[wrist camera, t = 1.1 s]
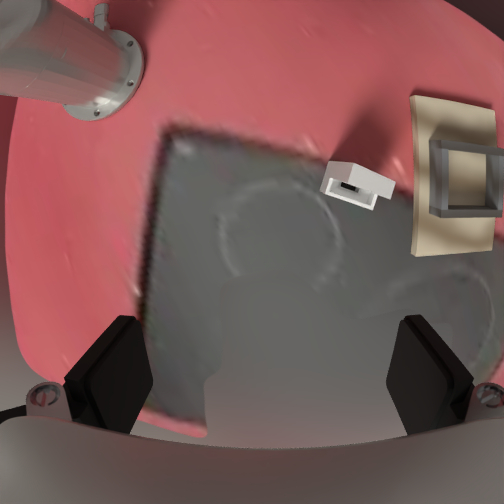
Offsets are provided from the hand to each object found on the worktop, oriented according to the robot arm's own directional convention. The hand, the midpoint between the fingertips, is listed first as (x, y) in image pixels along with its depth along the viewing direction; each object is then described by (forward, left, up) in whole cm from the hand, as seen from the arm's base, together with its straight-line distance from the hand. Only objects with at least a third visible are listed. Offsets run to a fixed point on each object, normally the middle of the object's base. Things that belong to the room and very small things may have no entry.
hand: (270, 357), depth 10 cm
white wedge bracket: (-3, +10, -27) cm, 29 cm away
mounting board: (-4, +26, -27) cm, 37 cm away
